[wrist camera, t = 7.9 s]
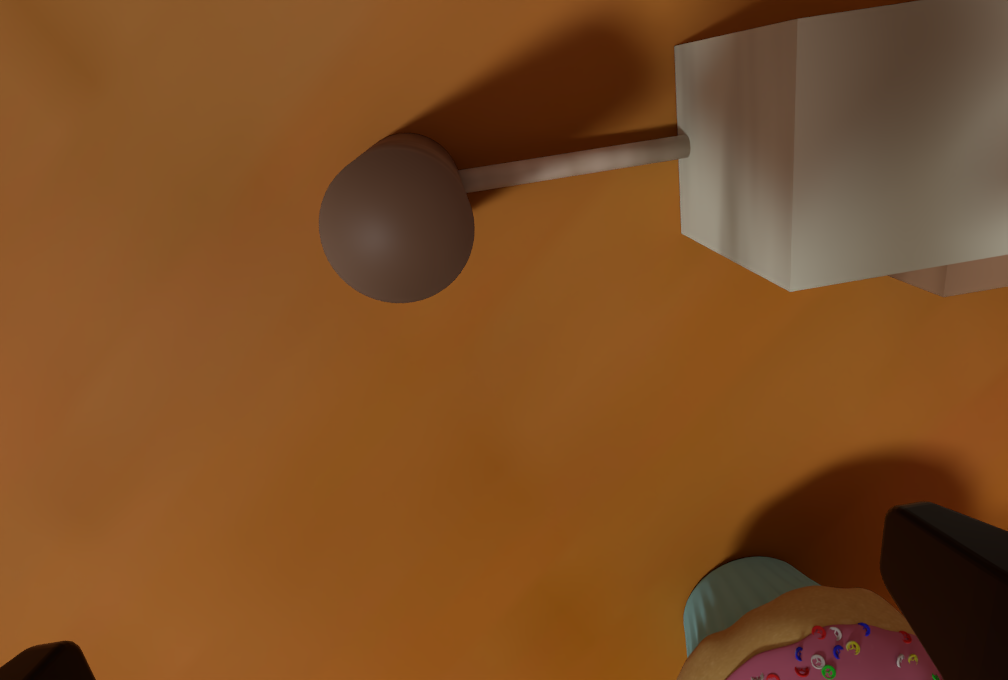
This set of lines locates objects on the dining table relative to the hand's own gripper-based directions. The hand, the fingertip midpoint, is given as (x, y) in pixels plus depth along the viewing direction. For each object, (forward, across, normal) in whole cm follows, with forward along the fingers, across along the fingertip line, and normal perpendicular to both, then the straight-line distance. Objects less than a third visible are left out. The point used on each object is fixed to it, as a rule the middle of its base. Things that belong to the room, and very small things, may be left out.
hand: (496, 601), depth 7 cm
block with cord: (+12, -5, -3) cm, 13 cm away
